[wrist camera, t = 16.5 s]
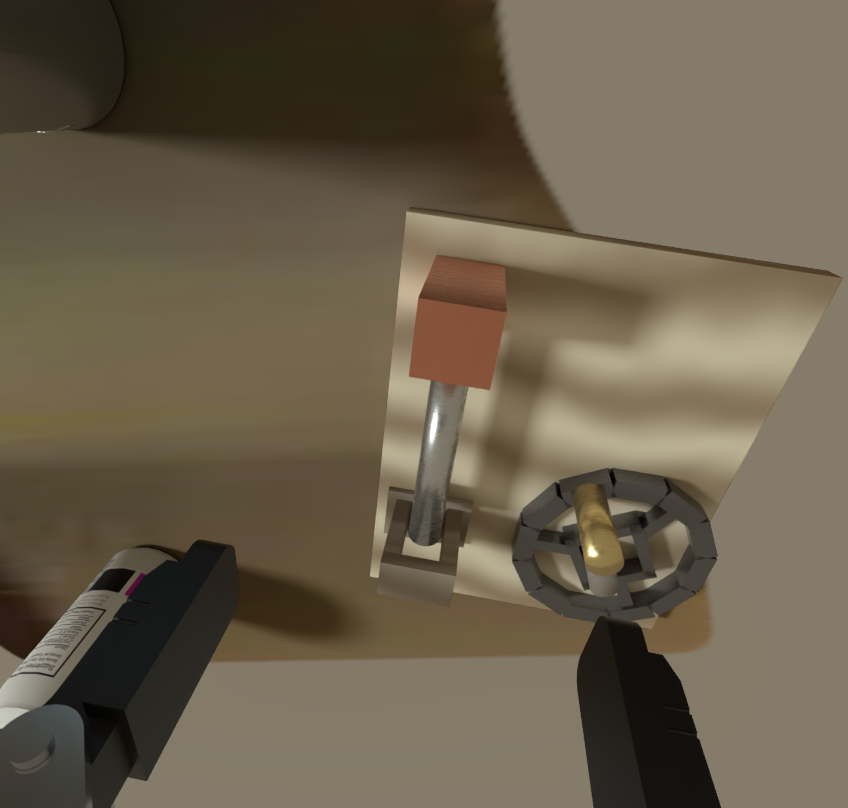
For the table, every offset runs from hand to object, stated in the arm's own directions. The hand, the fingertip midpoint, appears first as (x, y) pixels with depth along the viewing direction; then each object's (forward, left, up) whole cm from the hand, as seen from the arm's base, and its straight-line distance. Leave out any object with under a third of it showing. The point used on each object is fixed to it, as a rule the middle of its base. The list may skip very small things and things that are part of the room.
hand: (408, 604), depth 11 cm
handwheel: (+18, +14, -23) cm, 32 cm away
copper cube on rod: (+7, 0, -22) cm, 24 cm away
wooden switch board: (+11, +8, -24) cm, 28 cm away
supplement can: (+33, -25, -24) cm, 48 cm away
